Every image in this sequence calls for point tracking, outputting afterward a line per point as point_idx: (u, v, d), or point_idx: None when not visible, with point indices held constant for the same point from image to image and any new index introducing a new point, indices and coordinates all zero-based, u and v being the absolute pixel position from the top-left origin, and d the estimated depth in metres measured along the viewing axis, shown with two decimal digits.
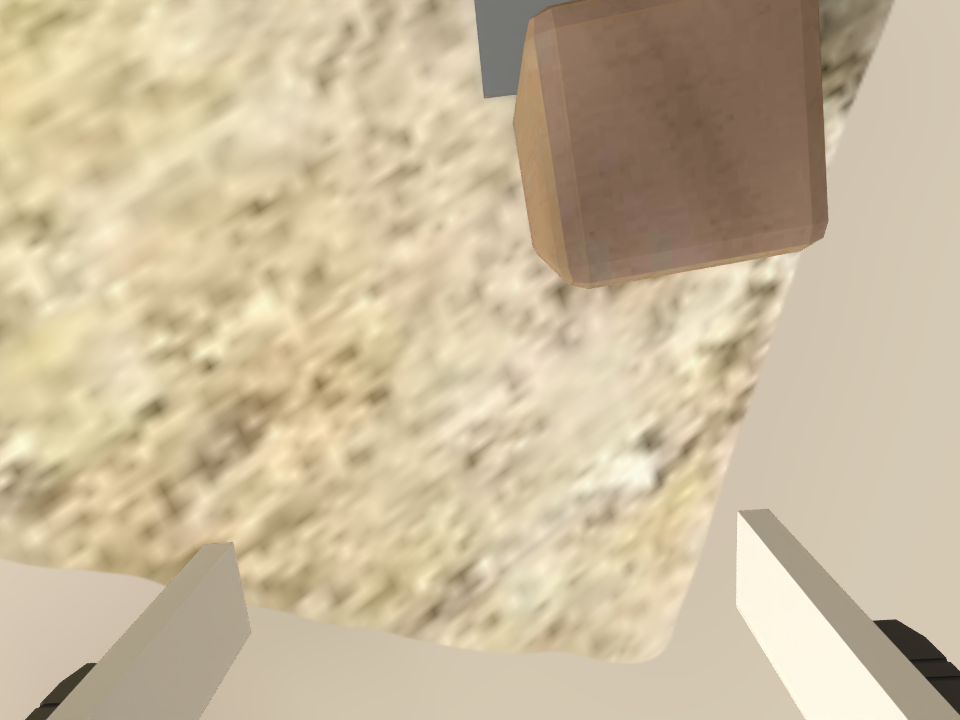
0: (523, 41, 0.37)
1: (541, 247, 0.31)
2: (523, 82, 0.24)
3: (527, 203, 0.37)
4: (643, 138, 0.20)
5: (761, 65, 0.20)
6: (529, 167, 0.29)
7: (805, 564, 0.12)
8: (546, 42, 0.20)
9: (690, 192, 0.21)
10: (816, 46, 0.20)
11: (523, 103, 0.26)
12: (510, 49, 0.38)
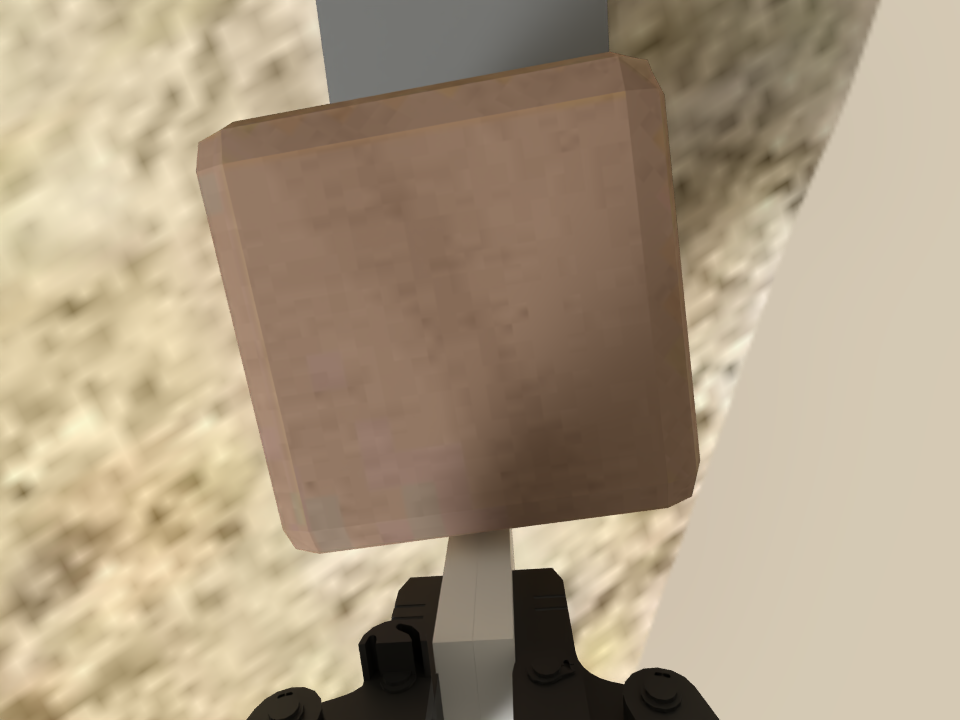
0: None
1: None
2: None
3: None
4: (382, 341, 0.12)
5: (570, 232, 0.12)
6: None
7: None
8: (213, 185, 0.12)
9: (465, 426, 0.13)
10: (662, 203, 0.12)
11: None
12: None
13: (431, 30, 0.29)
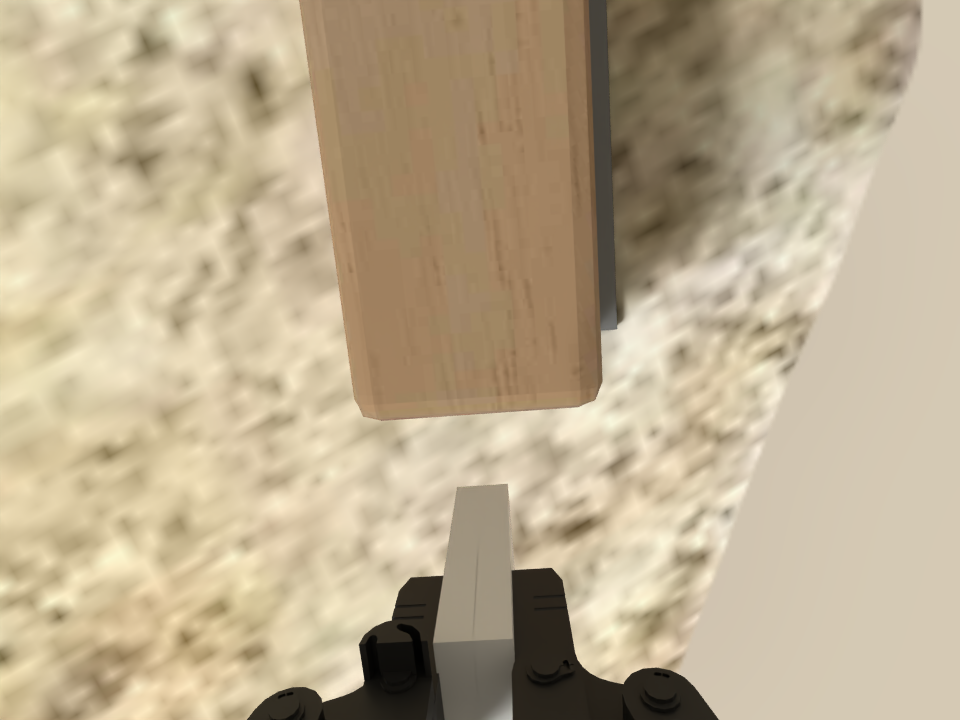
0: None
1: None
2: None
3: None
4: None
5: None
6: None
7: (497, 525, 0.15)
8: None
9: None
10: None
11: None
12: None
13: None
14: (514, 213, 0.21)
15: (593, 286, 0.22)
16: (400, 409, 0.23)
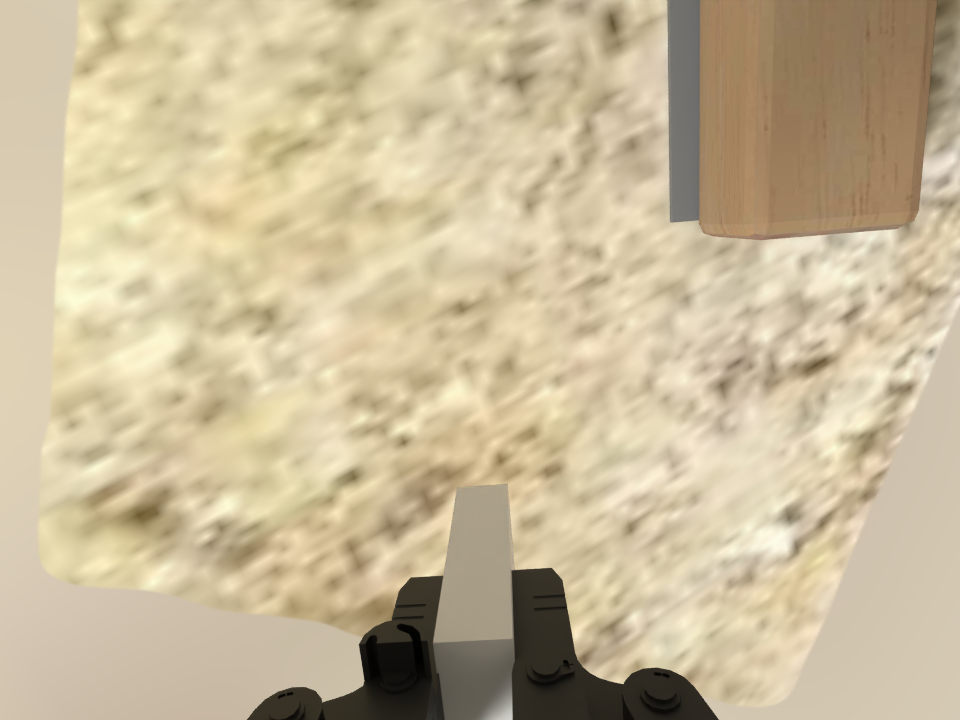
0: None
1: (744, 55, 0.33)
2: None
3: (726, 190, 0.37)
4: None
5: None
6: (718, 64, 0.37)
7: (498, 525, 0.15)
8: None
9: None
10: None
11: (705, 28, 0.39)
12: None
13: None
14: (881, 88, 0.32)
15: (924, 139, 0.33)
16: (784, 227, 0.34)
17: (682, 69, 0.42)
